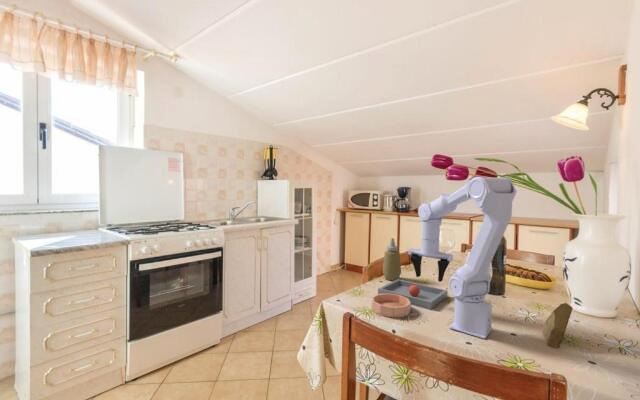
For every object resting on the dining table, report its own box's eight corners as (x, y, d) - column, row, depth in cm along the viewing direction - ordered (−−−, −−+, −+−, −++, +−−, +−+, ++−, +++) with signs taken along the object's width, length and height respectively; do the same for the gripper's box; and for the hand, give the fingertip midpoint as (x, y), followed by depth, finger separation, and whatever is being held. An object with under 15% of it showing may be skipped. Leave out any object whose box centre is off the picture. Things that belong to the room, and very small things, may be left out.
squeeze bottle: (403, 282, 131) (404, 240, 130) (384, 281, 131) (385, 240, 130) (398, 276, 139) (399, 237, 138) (380, 276, 139) (381, 236, 138)
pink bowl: (416, 308, 102) (416, 299, 102) (398, 321, 92) (398, 310, 92) (383, 299, 110) (383, 290, 110) (364, 310, 100) (364, 300, 100)
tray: (447, 297, 113) (447, 290, 113) (430, 309, 101) (431, 302, 101) (397, 285, 127) (397, 279, 126) (377, 295, 115) (378, 288, 114)
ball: (421, 296, 113) (421, 285, 113) (416, 298, 110) (417, 287, 110) (411, 293, 115) (411, 282, 115) (406, 295, 112) (406, 285, 112)
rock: (569, 346, 74) (592, 333, 78) (545, 311, 78) (568, 301, 82) (533, 353, 83) (556, 341, 87) (514, 322, 87) (536, 311, 91)
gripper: (456, 240, 102) (455, 280, 103) (414, 235, 112) (413, 272, 112) (449, 243, 97) (447, 285, 98) (406, 237, 106) (405, 276, 107)
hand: (429, 278), depth 105 cm, fingers open, 7 cm apart
